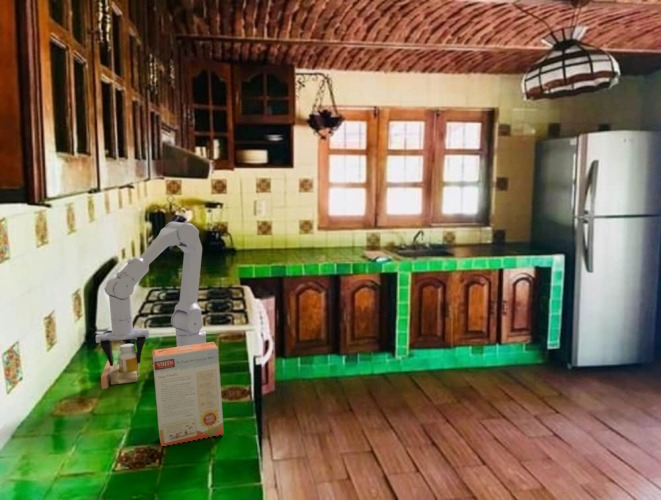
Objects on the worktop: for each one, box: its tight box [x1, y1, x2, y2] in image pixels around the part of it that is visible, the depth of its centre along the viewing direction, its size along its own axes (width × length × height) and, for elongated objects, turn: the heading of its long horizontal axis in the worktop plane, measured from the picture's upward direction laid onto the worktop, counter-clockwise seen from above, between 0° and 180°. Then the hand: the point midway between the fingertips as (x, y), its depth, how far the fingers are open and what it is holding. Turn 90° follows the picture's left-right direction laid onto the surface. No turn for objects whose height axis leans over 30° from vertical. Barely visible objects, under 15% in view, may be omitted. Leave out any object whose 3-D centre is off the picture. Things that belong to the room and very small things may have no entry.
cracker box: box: [151, 341, 225, 447], centre depth 129 cm, size 14×6×21 cm, turn 110°
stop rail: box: [100, 360, 114, 390], centre depth 167 cm, size 2×14×4 cm, turn 14°
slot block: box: [110, 363, 140, 385], centre depth 168 cm, size 7×10×3 cm
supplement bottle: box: [117, 343, 141, 379], centre depth 168 cm, size 5×5×10 cm
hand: (125, 363), depth 168 cm, fingers open, 7 cm apart
